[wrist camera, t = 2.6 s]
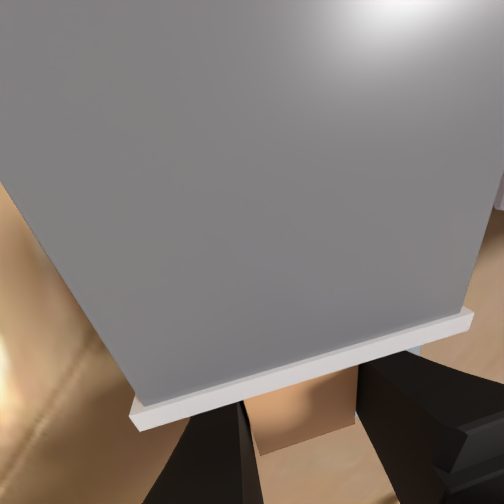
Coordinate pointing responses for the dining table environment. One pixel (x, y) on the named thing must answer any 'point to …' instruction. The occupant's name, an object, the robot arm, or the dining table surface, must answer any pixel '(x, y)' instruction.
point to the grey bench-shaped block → (254, 179)
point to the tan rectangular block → (303, 410)
